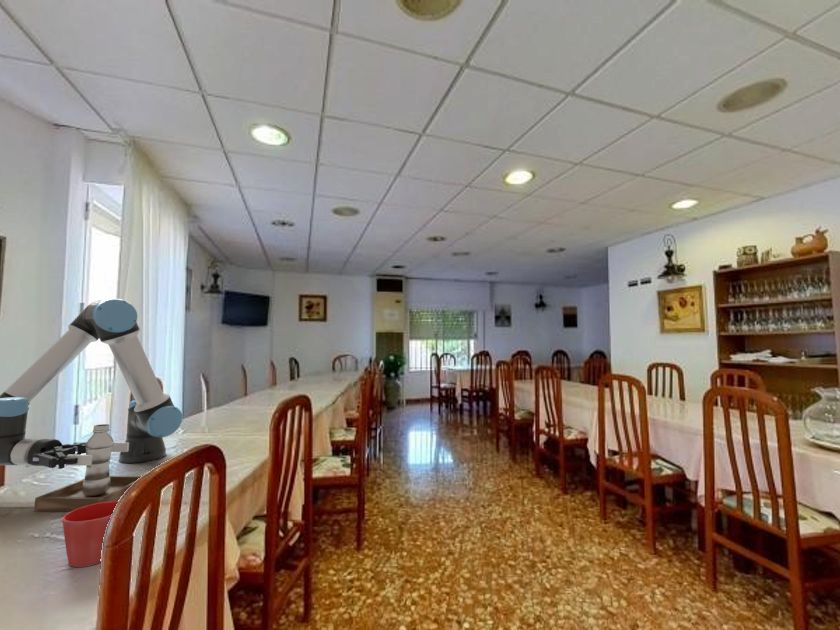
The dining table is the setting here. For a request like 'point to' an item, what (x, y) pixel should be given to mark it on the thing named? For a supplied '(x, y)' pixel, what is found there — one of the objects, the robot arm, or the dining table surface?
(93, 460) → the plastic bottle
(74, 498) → the walnut tray
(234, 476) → the dining table surface
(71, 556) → the flower pot
